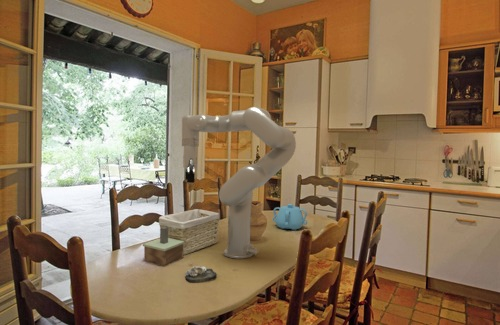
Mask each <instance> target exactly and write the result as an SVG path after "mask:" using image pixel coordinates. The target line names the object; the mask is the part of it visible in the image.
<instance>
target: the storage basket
mask: <svg viewBox="0 0 500 325" xmlns="http://www.w3.org/2000/svg"><path fill="white" fill-rule="evenodd" d="M219 223H220V213H219V212H217V211H216V212H215V211H211V210H206V209H200V208H199V209H198V208H194V209H191V210H190V209H189V210H185V211H181V212H175V213H172V214H166V215H161V216H159V218H158V225H159V229H160V228H162V227H167V228H168V238H171V239H176V240H180V241H185V243H184V244H183V256H185V255H188V254H189V255H190V253H194V252H197V251H198V250H201V249H204V248H207V247H210V246H212V245H214V244H217V243H218V235H219V232H218V231H219Z"/></svg>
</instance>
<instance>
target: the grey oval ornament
mask: <svg viewBox="0 0 500 325" xmlns="http://www.w3.org/2000/svg"><path fill="white" fill-rule="evenodd" d="M184 274H185V276H184V278H185V281H186V282H187V283H189V284H199V283H206V282H211V281H213V280H215V279H217V272H215V271H214V270H213V269H212V268H207V267H206V266H198V265H197V266H194V265H193V266H192V267H191V268H189V269H187V270H186V271H185V272H184Z"/></svg>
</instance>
